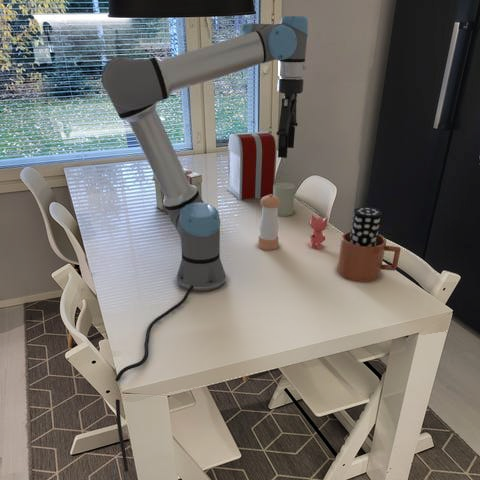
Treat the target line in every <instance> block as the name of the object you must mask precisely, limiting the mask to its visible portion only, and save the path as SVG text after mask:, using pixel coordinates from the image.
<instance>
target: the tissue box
mask: <svg viewBox="0 0 480 480" xmlns="http://www.w3.org/2000/svg"><path fill="white" fill-rule="evenodd" d="M227 147H228V149H227V150H228V151H227V152H228V153H227V155H228V157H227V162H228V163H227V191H229V192H230V193H231V194H232V195H234V197H236V198H237V199H238V200H240V201H242V200H251V199H253V200H254V199H260V198H261V199H262V198H263V197H264V196H267V195H269V194H272V195H273V185H274V184H275V183H276V173H277V170H276V169H277V156H278V147H277V141H276V137H275V136H274V134H272V133H271V132H270V131H255V132H254V131H247V132H239V133H231V134H230V135H229V139H228V146H227Z"/></svg>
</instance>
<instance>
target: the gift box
mask: <svg viewBox="0 0 480 480" xmlns="http://www.w3.org/2000/svg"><path fill="white" fill-rule="evenodd" d="M182 168H183V170H184V172H185V174H186V177H187V179H188V181H189V183H190V184H191V185H193V186H196V187H197V189H198V191H199V194H200V196H201V198H202V199H203V194H202V193H203V191H202V190H203V189H202V183H203V175H202V174H201V173H197V172H195V171H193V170H191V169H188V168H185V167H183V166H182ZM152 181H153V182H154V190H155V200H156V207H157V208H158V209H160V210H162V211H163V212H165V213H167V214H168V212H167V210H166V208H165V206H164V204H163V200H164V198H165V195H164V193H163V191H162V189H161V187H160V185H159V183H158V181H157V179H156V177H155V175H154V173H153V172H152Z"/></svg>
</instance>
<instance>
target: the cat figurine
mask: <svg viewBox="0 0 480 480" xmlns="http://www.w3.org/2000/svg"><path fill="white" fill-rule="evenodd" d="M309 225H310V229H312V230H313V231H312V233H311V234H310V244H309V246H310V248H313V249H314V248H315V249H317V250H319V249H323V248H324V245H323V244H322V243H323V242H324V241H326V236H325V235H323V232H324V231H325V230H326V229H328V227H329V224H328V216H327V217H326V216H325V217H324V218H323V217H321V216H314V214H313V213H312V214H311V215H310V222H309Z"/></svg>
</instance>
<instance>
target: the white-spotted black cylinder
mask: <svg viewBox="0 0 480 480" xmlns="http://www.w3.org/2000/svg"><path fill="white" fill-rule="evenodd" d="M382 216H383V211H382V210H380V209H379V208H375V207H370V206H359V207H355V208H354V210H353V216H352V222H351V229H350V231H351V236H350V243H352V244H354V245H359V246H366V247H373V246H376V243H377V237H378V234H379V231H380V226H381V220H382Z"/></svg>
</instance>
